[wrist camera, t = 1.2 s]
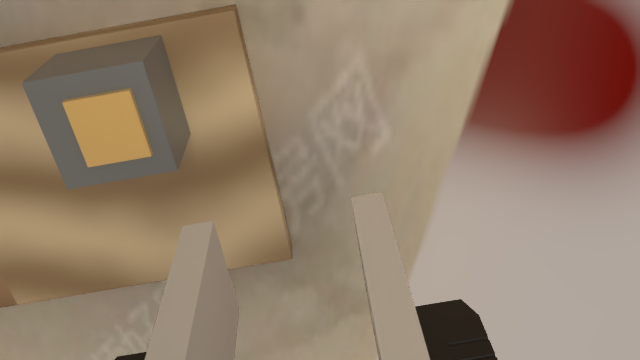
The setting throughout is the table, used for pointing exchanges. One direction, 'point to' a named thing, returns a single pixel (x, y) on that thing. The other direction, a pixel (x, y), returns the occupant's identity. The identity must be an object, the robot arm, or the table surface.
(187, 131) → the grey block
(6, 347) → the table surface
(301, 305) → the table surface
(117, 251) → the panel
